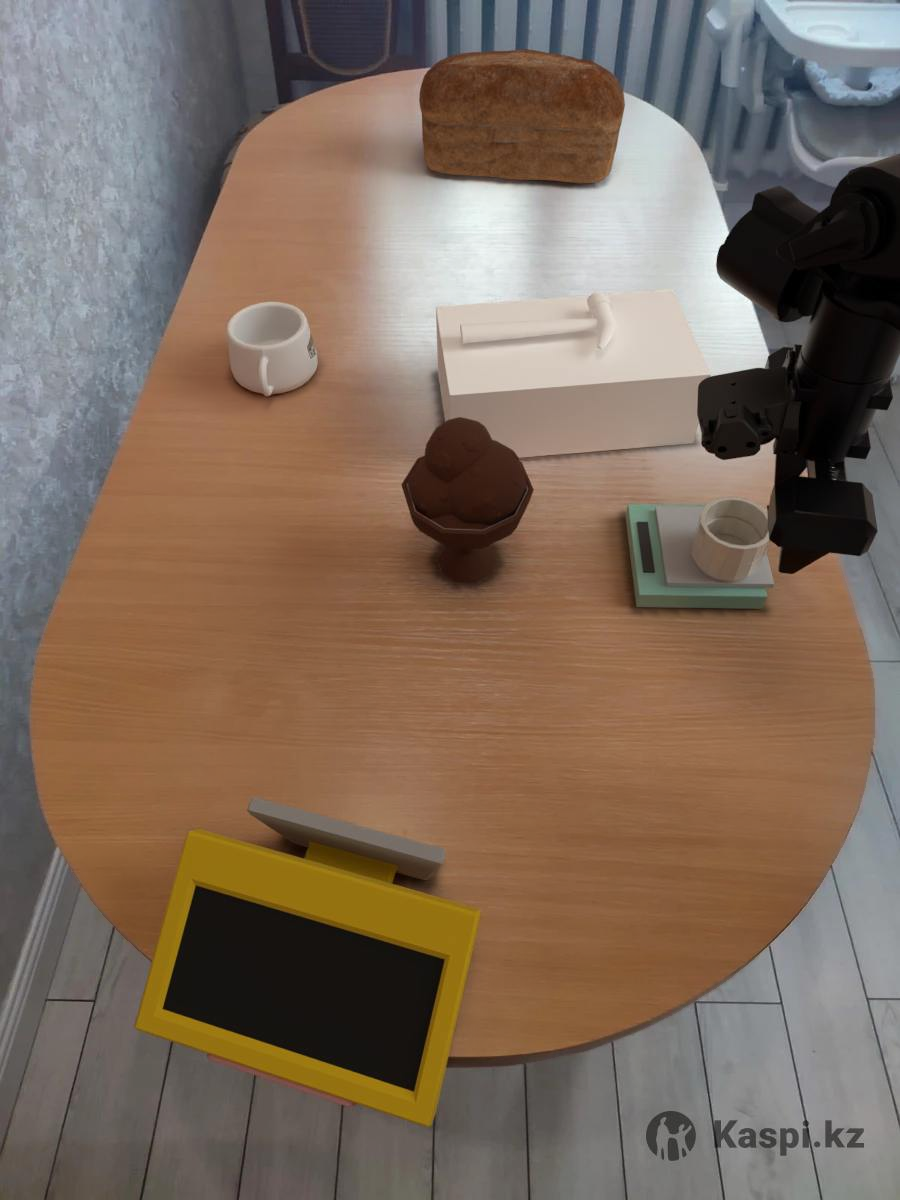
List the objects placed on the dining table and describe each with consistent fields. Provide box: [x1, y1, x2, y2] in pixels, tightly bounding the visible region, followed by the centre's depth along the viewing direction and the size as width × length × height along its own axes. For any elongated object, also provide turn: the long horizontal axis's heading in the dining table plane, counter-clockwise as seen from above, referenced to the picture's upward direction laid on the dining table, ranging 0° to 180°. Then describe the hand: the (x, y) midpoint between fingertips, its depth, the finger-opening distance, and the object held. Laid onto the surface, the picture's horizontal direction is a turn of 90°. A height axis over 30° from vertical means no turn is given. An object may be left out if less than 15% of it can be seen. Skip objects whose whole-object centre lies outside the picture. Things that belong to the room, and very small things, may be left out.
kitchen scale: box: [624, 503, 775, 610], centre depth 81 cm, size 12×11×2 cm
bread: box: [418, 48, 626, 184], centre depth 123 cm, size 12×28×14 cm, turn 80°
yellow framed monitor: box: [134, 796, 482, 1128], centre depth 58 cm, size 20×8×16 cm
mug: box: [226, 301, 319, 397], centre depth 97 cm, size 12×10×6 cm
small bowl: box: [691, 496, 771, 581], centre depth 77 cm, size 6×6×5 cm
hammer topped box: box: [435, 288, 712, 459], centre depth 91 cm, size 14×25×11 cm, turn 96°
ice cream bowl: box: [400, 417, 534, 584], centre depth 77 cm, size 11×11×15 cm
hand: (783, 527), depth 69 cm, fingers open, 9 cm apart
